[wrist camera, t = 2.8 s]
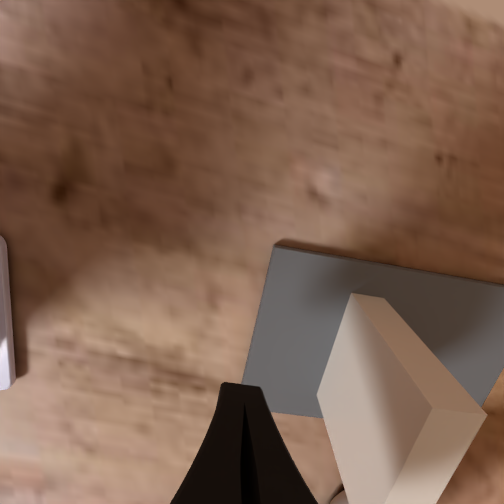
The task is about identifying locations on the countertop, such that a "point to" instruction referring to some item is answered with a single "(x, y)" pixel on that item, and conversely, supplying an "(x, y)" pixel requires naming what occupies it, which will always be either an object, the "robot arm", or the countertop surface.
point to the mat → (332, 310)
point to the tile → (392, 409)
